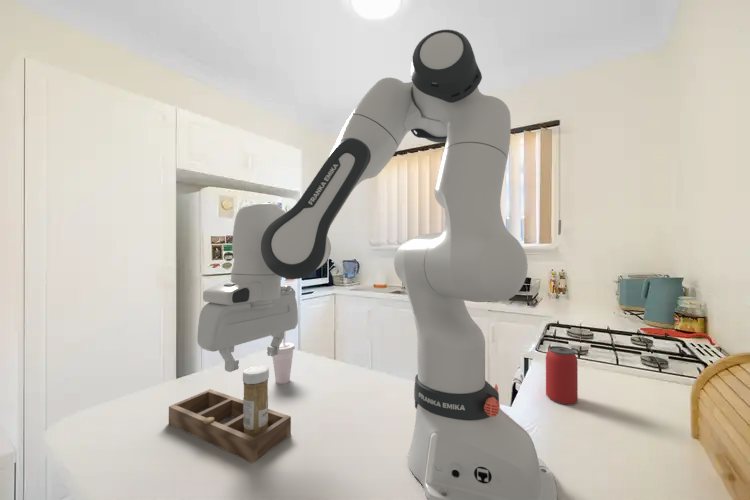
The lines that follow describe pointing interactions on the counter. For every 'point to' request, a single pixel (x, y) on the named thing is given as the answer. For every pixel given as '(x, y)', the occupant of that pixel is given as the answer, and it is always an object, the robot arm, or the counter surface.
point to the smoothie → (283, 362)
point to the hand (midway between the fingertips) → (253, 362)
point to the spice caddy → (227, 424)
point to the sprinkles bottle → (255, 400)
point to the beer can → (562, 375)
